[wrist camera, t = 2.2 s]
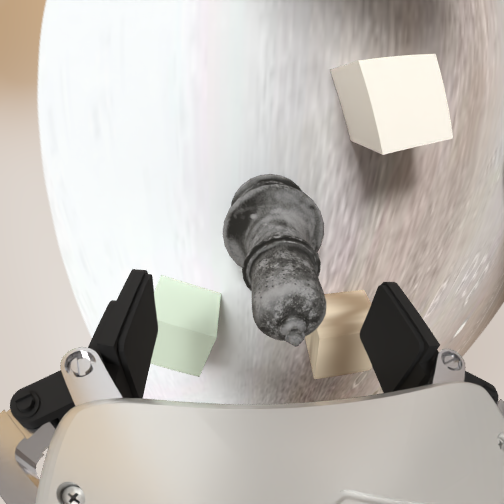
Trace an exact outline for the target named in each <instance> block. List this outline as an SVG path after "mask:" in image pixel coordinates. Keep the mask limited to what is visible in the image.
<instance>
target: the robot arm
mask: <svg viewBox="0 0 504 504" xmlns="http://www.w3.org/2000/svg"><path fill="white" fill-rule="evenodd" d="M157 335H158V321H157V314H156V306H155V298H154V289H153V279H152V275H151V274H148V273H147V271H146V270H135V269H133V270H132V271H131V273H130V275H129V277H128V279H127V281H126V283H125V285H124V287H123V289H122V291H121V293H120V295H119V297H118V299H117V301H113V300H112V301H110V303H109V304H108V306H107V308H106V310H105V312H104V314H103V317H102V319H101V321H100V323H99V325H98V327H97V329H96V331H95V333H94V336H93V338H92V340H91V342H90V345H89V347H88V348H86V347H79V348H75V349H72V350H70V351H69V352H67V354H65V356H64V357H63V359H62V360H61V365H60V366H61V370H60V371H58V372H56V373H54V374H52V375H50V376H48V377H46V378H44V379H41V380H39V381H37V382H35V383H33V384H31V385H28V386H26V387H24V388H22V389H20V390H18V391H17V392H16V393H15V394H14V395H13V397H12V399H11V402H10V410H8V411H7V412H6V411H5V410H3V411H2V412H1V413H0V496H1V497H2V499H3V500H4V501H5V503H6V504H504V401H502V400H501V399H500V400H499V401H498V394H497V391H496V389H495V387H494V386H493V385H491V384H490V383H488V382H486V381H484V380H482V379H480V378H478V377H476V376H474V375H472V374H470V373H468V372H466V371H465V362H464V360H463V358H462V357H461V355H460V354H458V353H457V352H456V351H454V350H451V349H442V350H441V351H440V352H438V350H437V349H438V347H439V346H440V344H439V343H438V341H437V340H436V338H435V337H434V335H433V334H432V332H431V331H430V329H429V328H428V326H427V325H426V323H425V322H424V320H423V319H422V317H421V316H420V315H419V313H418V312H417V310H416V309H415V307H414V306H413V305H412V303H411V302H410V301H409V299H408V298H407V296H406V295H405V294H404V292H403V291H402V290H401V288H400V287H399V286H398V284H397V283H395V282H383V283H382V284H381V285H380V286H379V287H378V289H377V291H376V294H375V296H374V299H373V301H372V304H371V306H370V309H369V311H368V314H367V316H366V318H365V321H364V323H363V325H362V328H361V330H360V339H361V342H362V344H363V346H364V348H365V350H366V353H367V355H368V357H369V359H370V362H371V364H372V366H373V369H374V371H375V373H376V376H377V378H378V380H379V383H380V385H381V387H382V390H383V392H384V393H383V394H377V395H370V396H363V397H356V398H348V399H339V400H330V401H319V402H306V403H288V404H212V403H193V402H179V401H167V400H155V399H142V398H143V394H144V389H145V384H146V380H147V376H148V371H149V367H150V363H151V359H152V354H153V350H154V346H155V342H156V338H157ZM47 448H48V451H47V454H46V457H45V461H44V465H43V468H42V473H41V477H40V479H39V478H38V476H37V474H36V464H37V462H38V461H39V459H40V458H41V457H42V456H43V455H44V454H43V451H45V450H46V449H47Z"/></svg>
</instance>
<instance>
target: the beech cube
mask: <svg viewBox="0 0 504 504" xmlns="http://www.w3.org/2000/svg"><path fill="white" fill-rule="evenodd" d="M324 295H325V299H326V315H325V317H324V319H323V321H322V322H321V324H320V325H319V326H318V328H317V329H316V330H315V331H313V332H312V333H311V334H309V335H307V336H305V340H306V344H307V349H308V354H309V358H310V363H311V367H312V372H313V377H314V379H320V378H327V377H334V376H340V375H346V374H352V373H357V372H363V371H368V370H371V368H372V364H371V362H370V359H369V357H368V355H367V353H366V350H365V348H364V346H363V344H362V342H361V339H360V330H361V328H362V325H363V323H364V321H365V318H366V316H367V314H368V311H369V309H370V306H371V302H370V300H369V299H368V297H367V295H366V293H365V291H364V290H358V291H349V292H340V293H331V294H324Z"/></svg>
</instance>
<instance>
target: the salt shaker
mask: <svg viewBox="0 0 504 504" xmlns="http://www.w3.org/2000/svg"><path fill="white" fill-rule="evenodd" d="M323 236H324V222H323V219H322V215H321V212H320V210H319V209H318V207H317V206H316V204H315V203H314V201H313V200H312V199H311V198H310V197H308V196H307V195H306V194H305V193H304V192H302V191H301V189H300V188H299V186H297V185H296V184H295V183H294V182H293V181H291V180H290V179H287V178H285V177H283V176H279V175H273V174H268V175H260V176H257V177H254V178H252V179H250V180H248V181H247V182H246V183H244V184H243V185H242V186H241V187H240V188H239V189H238V191H237V192H236V193H235V196H234V198H233V200H232V204H231V208H230V209H229V211H228V214H227V216H226V218H225V220H224V228H223V238H224V244H225V247H226V249H227V251H228V253H229V255H230V257H231V258H232V259H233V260H234V261H235V262H236V263H237V264H238V265H239V266H240V267H242V268H243V269H242V272H243V279H244V281H245V283H246V285H247V287H248V288H249V289H250V290H251V291H252V311H253V318H254V320H255V323H256V325H257V326H258V328H259V329H260V330H261V331H262V332H263V333H264V334H266V335H268V336H270V337H272V338H274V339H278V340H284V341H287V342H288V343H290V344H292V345H294V346H299V344H300V343H301V342H302V341H303V340H304V338H305V336H307V335H309V334H311V333H312V332H313V331H315V330H316V329H317V328H318V326H319V325H320V324H321V322H322V321H323V319H324V317H325V315H326V299H325V295H324V293H323V290H322V287H321V284H320V282H319V279H318V276H319V273H320V259H319V256H318V253H317V251H318V250H319V248H320V246H321V243H322V239H323Z"/></svg>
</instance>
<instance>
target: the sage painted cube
mask: <svg viewBox="0 0 504 504" xmlns="http://www.w3.org/2000/svg"><path fill="white" fill-rule="evenodd" d="M154 298H155V306H156V314H157V321H158V335H157V338H156V342H155V346H154V350H153V354H152V359H151V364H154V365H157V366H161V367H164V368H168V369H171V370H175V371H178V372H182V373H186V374H190V375H194V376H198V377H199V376H200V374H201V372H202V370H203V367H204V365H205V363H206V361H207V358H208V356H209V354H210V352H211V349H212V347H213V345H214V343H215V340H216V338H217V330H218V319H219V309H220V299H221V293H218V292H215V291H212V290H208V289H205V288H202V287H198V286H195V285H192V284H189V283H185V282H182V281H179V280H176V279H173V278H169V277H166V276H163V275H161V277H160V279H159V282H158V284H157V286H156V289H155V291H154Z"/></svg>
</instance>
